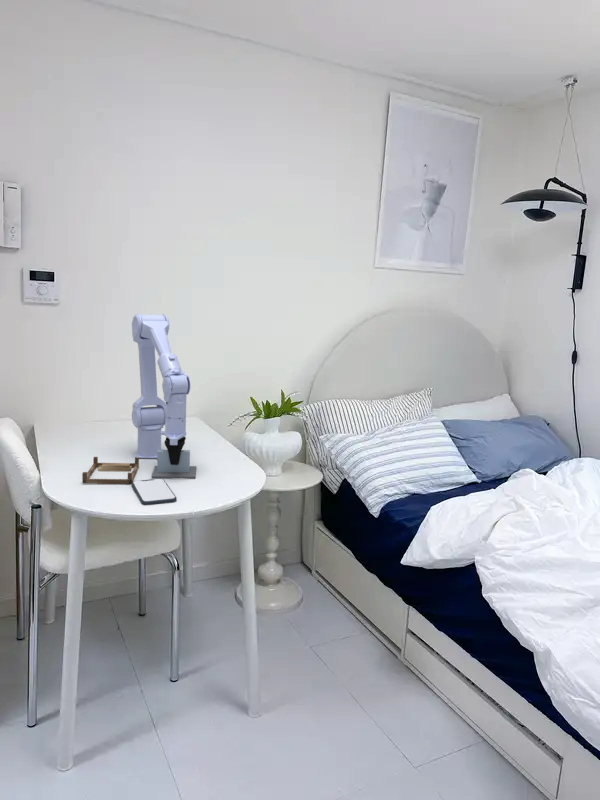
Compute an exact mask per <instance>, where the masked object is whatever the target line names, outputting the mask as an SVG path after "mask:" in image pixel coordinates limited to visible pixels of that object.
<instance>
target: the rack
mask: <svg viewBox="0 0 600 800" xmlns="http://www.w3.org/2000/svg"><path fill="white" fill-rule="evenodd" d="M98 459H99V457H98V456H93V464H92V465H91V466H90V467H89V469H88V471H83V472H82V473H81V474H82V475H81V476H82V483H97V484H96V485H132V482H133V481H135V480H134V479H135V477H136V475H137V472H138V470H139V469H140V468H139V467H140V463H139V462H140V458H139V457H135V456H134V462H129V463H130V466H132V470H131V472H130V471H127V478H91V477H90V476H93V474H94V472H95V471H96V469H97V468H96V467H99V466H102V464H103V463H104V462H99V460H98ZM94 470H95V471H94ZM92 473H93V474H92Z"/></svg>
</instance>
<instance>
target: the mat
mask: <svg viewBox="0 0 600 800" xmlns="http://www.w3.org/2000/svg"><path fill="white" fill-rule="evenodd" d="M196 477H197V465H190V470H189V472H157V465H154V468H153V471H152V474H151V479H172V478H185V480H186V478H187V480H188V479H193V480H194V479H196Z"/></svg>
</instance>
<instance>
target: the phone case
mask: <svg viewBox="0 0 600 800" xmlns="http://www.w3.org/2000/svg"><path fill="white" fill-rule="evenodd" d="M165 480H166V479H165V478H151V479H140V480H133V482H132V484H131V488H132V490H133V492H134V494H135V495H136V496H137V499H138V500H139V501H140V504H141V505H142V506H153V505H164V504H172V503H176V502H177V496H176V495H175V493H174V492H173V491H172V489H171V488H170V486H169V485H168V483H167V482H166V481H165Z"/></svg>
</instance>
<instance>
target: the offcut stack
mask: <svg viewBox="0 0 600 800" xmlns="http://www.w3.org/2000/svg"><path fill="white" fill-rule="evenodd" d="M102 463H103V464H102V466H99V467H98V468H97V471H98V472H132V470H133V468H132V466H130V463H131V462H102Z"/></svg>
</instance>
